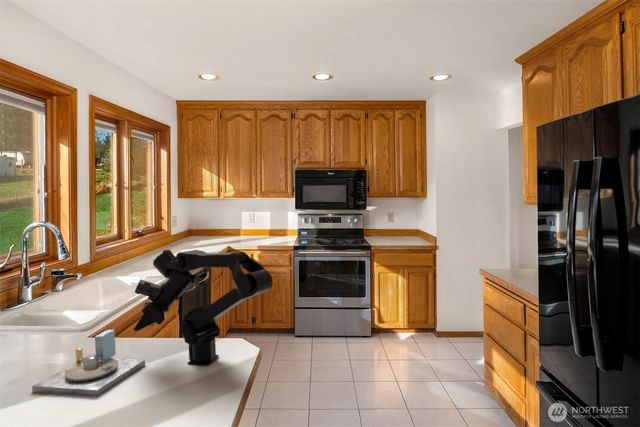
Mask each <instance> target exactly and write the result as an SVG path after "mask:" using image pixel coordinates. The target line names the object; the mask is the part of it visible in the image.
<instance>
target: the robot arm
mask: <svg viewBox="0 0 640 427" xmlns="http://www.w3.org/2000/svg"><path fill="white" fill-rule="evenodd" d="M152 265H153V267H154V268H155V269H156V270H157V271H158V272H159V273H160V274H161V275H162V276H163V277H164V278H165V279H167V281H166V282H162V284H160V285H158V284H156V283H153V282H150V281H147V280H144V279H140V280H139V281H138V283H137V285H136V287H135V289H134V293H135V294H136V295H142V296H146V297H147V299H148V300H150V301H149V302H146V301H145V303H144V304H143V306H142V308H141V312H142V315H141V317H140V318H139V319H138V321H137V322H136V324H135V325H134V327H133V331H135V332H138V331H141V330H142V329H145V328H147V327H148V326H151V325H153V324H155V323H156V324H157V325H161V324H162V323H163V322H164V321H165V320H166V313H168V312H169V310H170V308H171V307H172V306H173V304H174V303H175V302H176V301H178V300H179V299H180V297H181V295H183V293H184V292H185V291H186V290H187V289H188V288H189V287H190V286H191V285H192V284H194V285H195V286H198V287H199V286H200V276H199V275H197V274H196V273H195V274H193V272H192V271H196V270H201V269H204V268H206V269H207V268H209V269H211V268H214V269H215V268H217V269H218V268H228V269H229V270H230V271H231V272H230V273H231V276H232V280H233V281H234V283H235V284H234V287H233V288H232V289H231V290H230V291H228V292H227V293H225V294H223V295H222V296H221V297H219V298H218V299H216V300H214V301H213V302H212V303H211V304H209V303H206V304H202V305H201V306H197V307H194V308H191V309H190V310H189V311H188V312H186V313H184V314H183V316H184V317H182V319H181V324H180V329H181V332H182V336H183V339H184V343H186V344H187V345H188V360H189V361H188V362H187V365H189V366H191V365H192V366H193V365H194V366H210V365H212V363H214V362H215V361H216V360H217V359H218V358H219V357H220V356H219V354H217V351H216V349H217V348H216V337H219V336H220V334H221V329H220V327H219V325H218V324H217V319H219V318H220V317H222V316H223V315H225V314H227V313H228V312H229V311H231V310H232V309H234V308H236V307H237V306H238V305H239V304H241V303H243V302H244V301H245V300H247V299H249V298H251V297H255V296H257V295H260V294H263V293H265V292H268V291H270V290H271V289H272V288H273V277H272V274H271V273H270V272H269V271H268V270H267V269H266V268H265V267H264V266H263V265H262V264H261V263H259V262H257V261H256V260H254V259H253V258H252V257H250V256H249V255H248V253H246V252H245V251H241V250H240V251H239V250H238V251H235V252H216V253H215V252H213V253H209V252H206V251H204V250H198V249H193V250H187V251H180V252H177V253H176V255H175V254H173V252H172V251H171V249H163V251H162V253H160V254H158V256H156V257H155V259H153V261H152ZM243 269H244V270H245V271H247V272H246V273H245V272H244V271H243Z"/></svg>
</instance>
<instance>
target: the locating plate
mask: <svg viewBox="0 0 640 427" xmlns="http://www.w3.org/2000/svg"><path fill="white" fill-rule="evenodd" d="M83 353H84V352H83V347H77V348H76V349H75V362H76V363H75V364H78V363H81V362H83V358H84V354H83ZM112 358H113V359H116V360H117V361H118V368H117V369H116V370H115V371H113V372H112V373H110V374H108V375H105V376H102V377H99V378H96V379H92V380H86V381H69V380H67V379H66V378H65V371H66V370H67V369H68V368H70V367H71V366H73V365H75V364H71V365H70V366H68V367H66V368H64V369H63V370H60V371H58V372H56V373H55V374H52V375H51V376H49V377H47V378H45V379H43V380H41V381H39V382H37V383H35V384H33V385H31V389H32V390H31V391H32V393H40V394H52V395H53V394H55V395H57V394H58V395H67V396H68V395H69V396H82V397H83V396H84V397H95V398H96V397H99V396H100V395H102V394H104V393H105V392H106V391H108V390H110V389H111V388H112V387H114V386H116V385H117V384H118V383H120V382H122V381H123V380H125V379H127V377H129V376H131V375H133V374H134V373H135V372H137V371H139V370H140V369H141V368H143V367H144V366H146V359H137V358H120V357H119V358H115V357H112Z"/></svg>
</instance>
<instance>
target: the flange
mask: <svg viewBox="0 0 640 427" xmlns="http://www.w3.org/2000/svg"><path fill="white" fill-rule="evenodd" d="M94 347H95V348H94V349H95V354H91V355H87V356H83V362H81V363H78V364H76V363H75V365H74V364H72V365H73V366H72V365H70V366H71V367H70V366H69V367H70V368H68V367H67V368H68V369H67V370H66V371H65V378H66V379H67V380H69V381H86V380H92V379H96V378H99V377H102V376H105V375H108V374H110V373H112V372H113V371H115V370H116V369H117V368H118V361H117V360H116V359H113V358H114V356H116V354H117V353H116V352H117V351H116V330H115V329H107V330H104V331H102V332H101V333H99V334H97V335H95V336H94Z"/></svg>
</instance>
